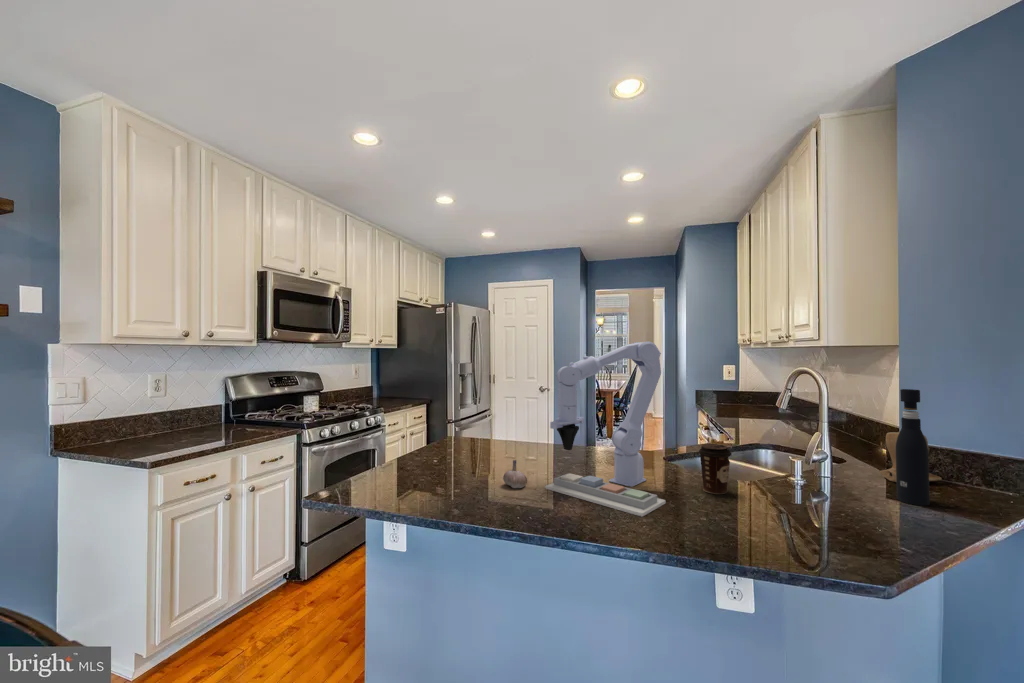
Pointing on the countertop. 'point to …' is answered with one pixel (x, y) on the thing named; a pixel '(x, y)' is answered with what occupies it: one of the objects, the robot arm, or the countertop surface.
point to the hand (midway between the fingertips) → (567, 449)
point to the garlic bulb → (515, 477)
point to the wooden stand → (891, 446)
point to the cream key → (572, 477)
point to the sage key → (636, 494)
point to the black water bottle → (912, 454)
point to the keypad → (607, 497)
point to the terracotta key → (613, 488)
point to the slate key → (591, 481)
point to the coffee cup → (715, 468)
